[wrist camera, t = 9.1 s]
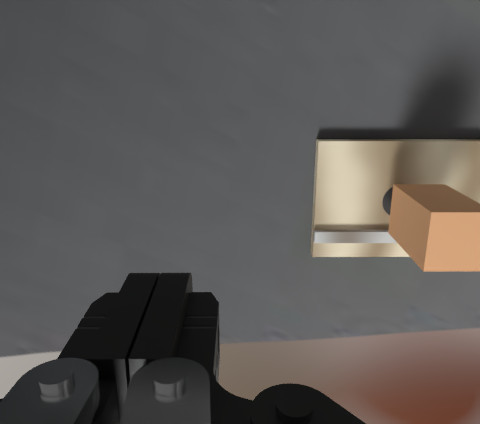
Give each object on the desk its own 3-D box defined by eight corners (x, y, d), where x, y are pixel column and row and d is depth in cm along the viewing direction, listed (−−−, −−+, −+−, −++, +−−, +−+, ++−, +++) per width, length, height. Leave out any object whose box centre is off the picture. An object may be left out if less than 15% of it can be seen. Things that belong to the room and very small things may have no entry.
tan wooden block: (381, 225, 38) (423, 271, 29) (385, 178, 37) (431, 212, 28) (429, 225, 38) (485, 271, 29) (435, 178, 37) (495, 212, 28)
